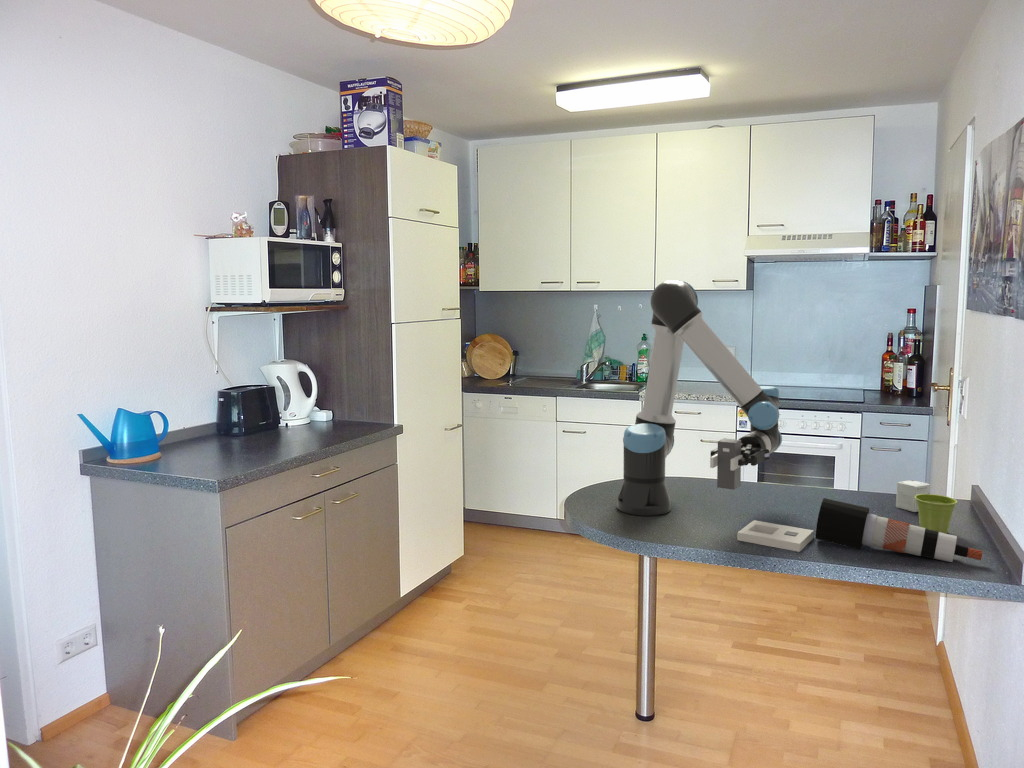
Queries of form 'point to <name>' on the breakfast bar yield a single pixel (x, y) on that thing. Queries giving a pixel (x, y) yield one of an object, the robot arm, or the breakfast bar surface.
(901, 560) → the breakfast bar surface
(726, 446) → the block
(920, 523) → the plant pot
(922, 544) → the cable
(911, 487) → the skincare box
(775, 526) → the white base plate
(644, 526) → the breakfast bar surface
